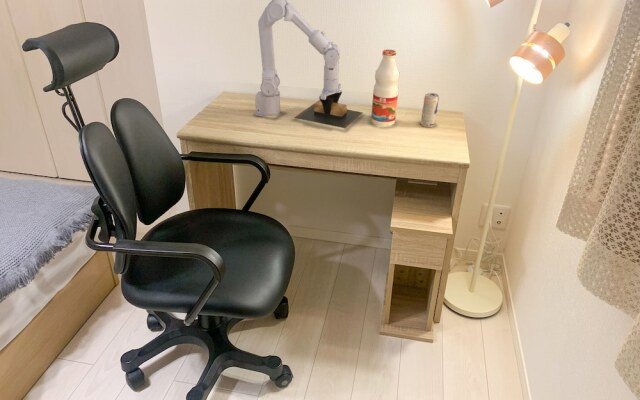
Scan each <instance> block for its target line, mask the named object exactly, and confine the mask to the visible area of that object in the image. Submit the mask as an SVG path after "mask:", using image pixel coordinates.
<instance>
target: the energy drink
mask: <svg viewBox="0 0 640 400" xmlns="http://www.w3.org/2000/svg"><path fill="white" fill-rule="evenodd" d="M439 100H440V97H439V94H437V93H435V92H427V93H425V94H424V97H423V104H422V111H421V112H422V113H421V119H420V124H421V126H423V127H425V128H433V127H435V125H436V120H437V114H438V113H437V112H438V107H439Z"/></svg>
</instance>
